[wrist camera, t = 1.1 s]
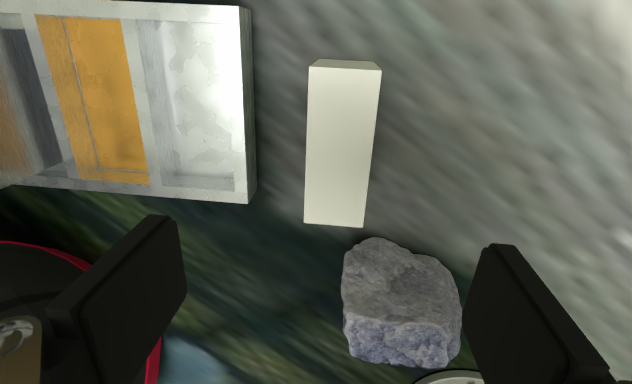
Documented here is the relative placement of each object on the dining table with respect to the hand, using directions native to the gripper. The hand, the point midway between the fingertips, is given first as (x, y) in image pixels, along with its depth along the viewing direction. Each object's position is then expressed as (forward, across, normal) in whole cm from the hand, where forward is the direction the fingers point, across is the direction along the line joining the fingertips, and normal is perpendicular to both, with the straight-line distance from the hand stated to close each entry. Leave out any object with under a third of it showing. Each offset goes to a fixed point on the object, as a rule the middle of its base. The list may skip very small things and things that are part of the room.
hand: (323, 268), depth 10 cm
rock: (+18, -6, +12) cm, 23 cm away
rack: (+18, +18, -1) cm, 25 cm away
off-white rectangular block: (+18, 0, 0) cm, 18 cm away
